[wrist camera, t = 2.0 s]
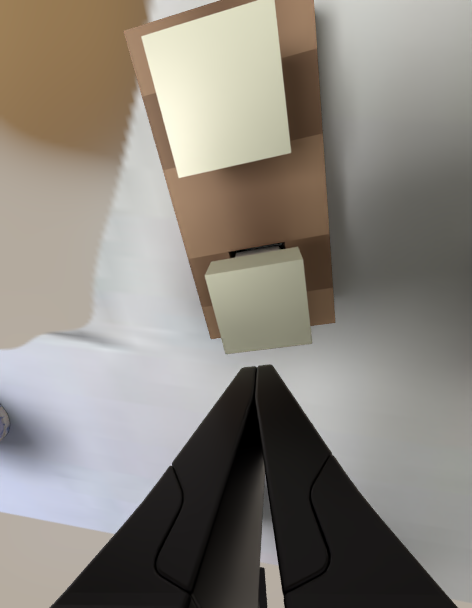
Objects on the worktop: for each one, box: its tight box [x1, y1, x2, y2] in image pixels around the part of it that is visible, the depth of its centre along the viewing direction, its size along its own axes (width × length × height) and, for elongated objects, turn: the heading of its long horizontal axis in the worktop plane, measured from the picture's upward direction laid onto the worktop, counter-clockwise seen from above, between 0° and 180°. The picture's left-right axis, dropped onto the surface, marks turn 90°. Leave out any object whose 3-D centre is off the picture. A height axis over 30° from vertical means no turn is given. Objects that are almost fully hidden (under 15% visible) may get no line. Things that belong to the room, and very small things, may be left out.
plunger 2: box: [205, 246, 312, 354], centre depth 14 cm, size 4×4×5 cm
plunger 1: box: [141, 0, 291, 178], centre depth 11 cm, size 4×4×5 cm
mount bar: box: [124, 0, 335, 339], centre depth 15 cm, size 7×14×3 cm, turn 12°
